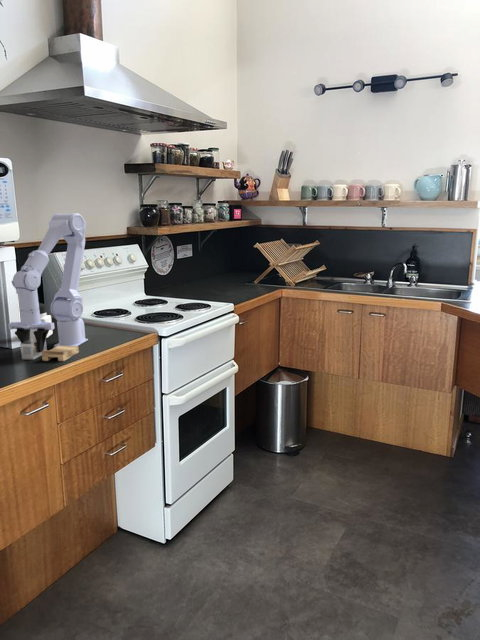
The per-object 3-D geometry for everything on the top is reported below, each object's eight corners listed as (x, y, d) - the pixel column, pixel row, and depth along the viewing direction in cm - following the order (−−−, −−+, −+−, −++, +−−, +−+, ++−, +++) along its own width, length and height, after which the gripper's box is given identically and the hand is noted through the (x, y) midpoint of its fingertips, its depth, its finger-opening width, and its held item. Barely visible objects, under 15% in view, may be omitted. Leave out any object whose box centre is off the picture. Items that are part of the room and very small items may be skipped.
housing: (35, 352, 171) (34, 337, 170) (47, 352, 170) (45, 337, 169) (21, 359, 163) (19, 343, 162) (33, 359, 162) (31, 344, 161)
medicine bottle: (53, 333, 195) (49, 302, 193) (46, 338, 188) (43, 305, 186) (33, 334, 195) (30, 302, 192) (26, 339, 188) (22, 306, 186)
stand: (58, 351, 171) (57, 342, 170) (78, 352, 169) (77, 343, 169) (42, 360, 161) (41, 351, 160) (63, 361, 160) (62, 351, 159)
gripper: (0, 311, 161) (6, 354, 164) (44, 312, 158) (49, 355, 161) (13, 307, 167) (18, 348, 170) (55, 307, 165) (60, 349, 168)
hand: (34, 351), depth 166 cm, fingers closed on housing, 4 cm apart
